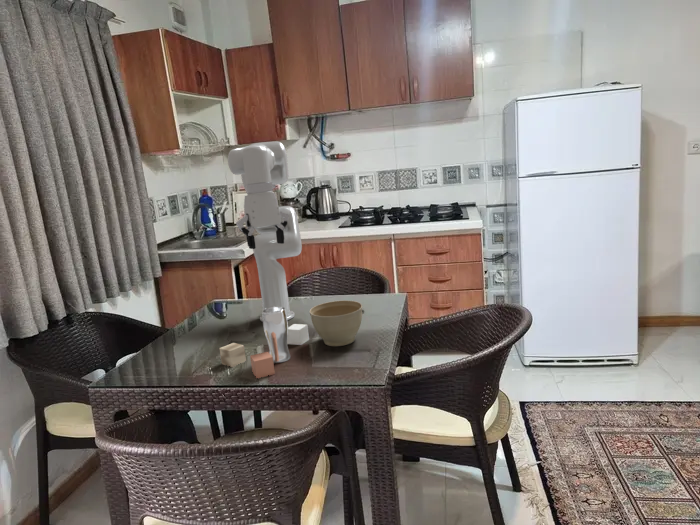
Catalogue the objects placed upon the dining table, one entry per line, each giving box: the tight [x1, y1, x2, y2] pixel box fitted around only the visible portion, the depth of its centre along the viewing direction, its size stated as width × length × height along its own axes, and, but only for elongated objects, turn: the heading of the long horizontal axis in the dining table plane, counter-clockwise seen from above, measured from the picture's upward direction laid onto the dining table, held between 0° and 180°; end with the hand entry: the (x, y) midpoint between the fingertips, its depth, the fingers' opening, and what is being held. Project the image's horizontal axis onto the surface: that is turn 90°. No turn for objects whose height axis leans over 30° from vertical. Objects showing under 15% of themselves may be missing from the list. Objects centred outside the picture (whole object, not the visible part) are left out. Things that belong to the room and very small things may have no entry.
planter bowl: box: [309, 300, 363, 347], centre depth 162 cm, size 16×16×11 cm
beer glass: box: [261, 306, 291, 364], centre depth 151 cm, size 7×7×15 cm
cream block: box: [287, 323, 310, 346], centre depth 166 cm, size 5×5×5 cm
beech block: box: [219, 342, 247, 368], centre depth 153 cm, size 5×5×5 cm
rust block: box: [249, 351, 276, 379], centre depth 143 cm, size 5×5×5 cm
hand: (266, 245), depth 160 cm, fingers open, 9 cm apart
